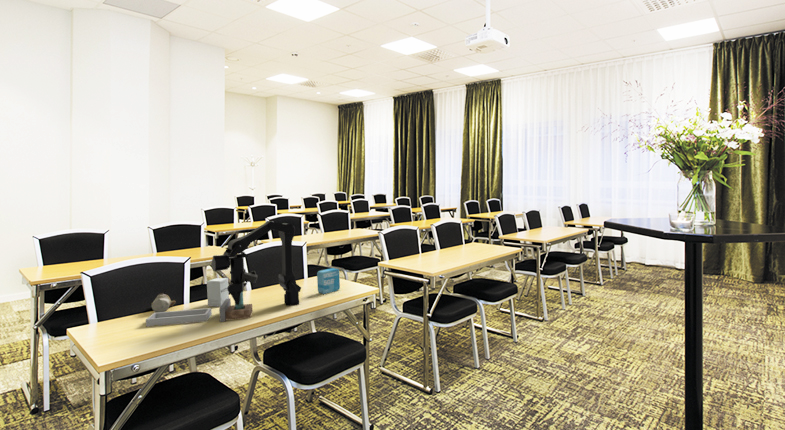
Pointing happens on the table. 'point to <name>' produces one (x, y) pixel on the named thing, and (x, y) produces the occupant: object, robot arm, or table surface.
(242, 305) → the dowel
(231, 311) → the pocket block
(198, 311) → the rectangular open frame
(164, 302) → the ceramic sculpture
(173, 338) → the table surface
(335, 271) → the data package
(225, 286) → the supplement box
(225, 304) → the backstop wall
